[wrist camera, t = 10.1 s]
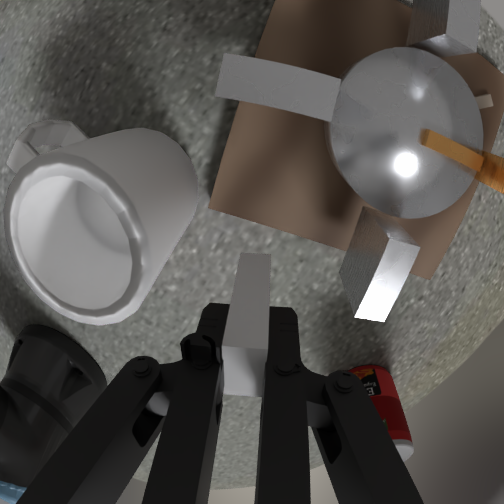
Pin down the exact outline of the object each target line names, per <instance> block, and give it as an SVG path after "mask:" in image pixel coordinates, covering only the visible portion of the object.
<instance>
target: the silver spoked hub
mask: <svg viewBox="0 0 504 504" xmlns="http://www.w3.org/2000/svg"><path fill="white" fill-rule="evenodd" d="M480 8H481V0H413V5H412V12H411V18H410V24H409V30H408V36H407V41H406V47H394V48H389V49H384V50H381V51H378V52H376V53H373V54H371V55H369V56H366V57H364V58H362V59H360V60H358V61H357V62H355V63H353V64H352V65H351V66H350V67H348V68H347V69H346V70H345V71H344V72H343V73H342V74H341V75H340V76H339V78H335V77H332V76H329V75H325V74H322V73H318V72H314V71H311V70H307V69H303V68H299V67H295V66H291V65H287V64H282V63H278V62H273V61H268V60H263V59H258V58H253V57H247V56H241V55H235V54H228V53H224V56H223V60H222V65H221V69H220V73H219V78H218V83H217V87H216V92H215V96H216V97H222V98H227V99H233V100H239V101H244V102H249V103H254V104H259V105H264V106H269V107H273V108H278V109H282V110H286V111H291V112H295V113H299V114H303V115H306V116H310V117H314V118H318V119H321V120H324V133H325V140H326V145H327V148H328V151H329V154H330V157H331V159H332V161H333V163H334V165H335V167H336V169H337V170H338V172H339V173H340V175H341V176H342V177H343V178H344V180H345V181H346V182H347V183H348V184H349V185H350V186H351V187H352V189H353V190H354V191H355V192H356V193H357V194H358V195H359V196H360V197H361V198H362V199H363V200H364V201H366V202H367V203H368V204H370V205H371V206H372V207H374V208H376V209H377V210H376V209H372V208H369V207H365V206H363V207H362V210H361V213H360V216H359V219H358V222H357V224H356V227H355V230H354V233H353V236H352V238H351V241H350V244H349V247H348V249H347V252H346V255H345V257H344V260H343V262H342V265H341V268H340V270H339V274H340V277H341V280H342V282H343V285H344V288H345V291H346V294H347V296H348V299H349V302H350V305H351V308H352V311H353V314H354V317H357V318H363V319H369V320H376V321H383V322H384V321H385V319H386V317H387V315H388V314H389V312H390V310H391V308H392V306H393V304H394V302H395V300H396V298H397V296H398V294H399V292H400V290H401V288H402V286H403V284H404V282H405V280H406V278H407V276H408V274H409V272H410V270H411V268H412V265H413V263H414V261H415V259H416V257H417V254H418V252H419V250H420V248H421V247H420V246H419V245H418V244H417V243H416V241H415V240H414V239H413V238H412V237H411V236H410V235H409V234H408V233H407V232H406V231H405V229H404V228H403V227H402V226H401V225H400V224H399V223H398V222H397V221H396V220H395V219H394V218H393V217H392V216H395V217H399V218H408V219H414V218H423V217H428V216H431V215H434V214H437V213H439V212H441V211H443V210H445V209H446V208H448V207H449V206H451V205H452V204H454V203H455V202H456V201H457V200H458V199H459V198H460V197H461V196H462V195H463V194H464V192H465V191H466V190H467V189H468V187H469V186H470V184H471V183H472V181H473V179H476V180H478V181H480V182H482V183H484V184H486V185H488V186H490V187H492V188H493V189H495V190H497V191H499V192H501V193H502V194H504V158H502V157H499V156H497V155H494V154H491V153H488V152H486V151H483V125H482V119H481V114H480V111H479V108H478V105H477V102H476V100H475V98H474V95H473V93H472V91H471V90H470V88H469V86H468V85H467V83H466V82H465V81H464V79H463V78H462V77H461V75H460V74H459V73H458V72H457V71H456V70H455V69H454V68H453V67H452V66H450V65H449V64H448V63H447V62H445V61H444V60H442V59H441V58H443V57H449V56H455V55H462V54H470V53H476V52H477V44H478V35H479V24H480Z"/></svg>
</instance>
